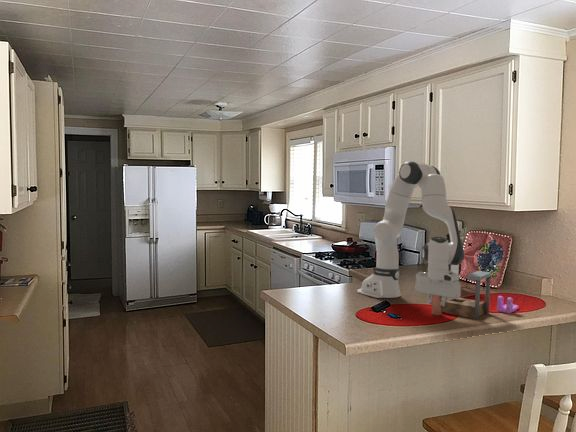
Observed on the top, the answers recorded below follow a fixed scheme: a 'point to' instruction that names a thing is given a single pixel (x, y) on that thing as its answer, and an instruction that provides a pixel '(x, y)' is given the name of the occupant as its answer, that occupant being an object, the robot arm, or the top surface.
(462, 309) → the socket block
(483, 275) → the grey legged stand
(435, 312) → the peg
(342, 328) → the top surface
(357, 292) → the robot arm
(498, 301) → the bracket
